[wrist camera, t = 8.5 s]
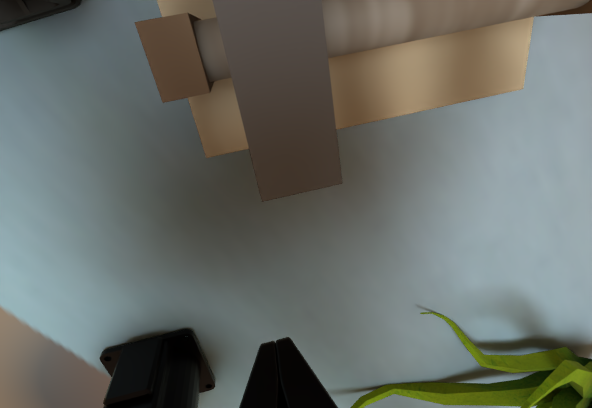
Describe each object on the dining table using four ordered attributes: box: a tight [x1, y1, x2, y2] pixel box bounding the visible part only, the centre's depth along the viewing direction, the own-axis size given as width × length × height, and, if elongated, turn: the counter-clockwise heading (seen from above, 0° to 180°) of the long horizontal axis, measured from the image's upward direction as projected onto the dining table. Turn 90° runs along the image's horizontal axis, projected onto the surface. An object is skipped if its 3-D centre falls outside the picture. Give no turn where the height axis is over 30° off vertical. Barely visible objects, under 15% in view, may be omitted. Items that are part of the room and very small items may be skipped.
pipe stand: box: [135, 0, 592, 158], centre depth 14 cm, size 18×10×6 cm, turn 100°
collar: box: [212, 0, 342, 202], centre depth 12 cm, size 3×10×5 cm, turn 10°
